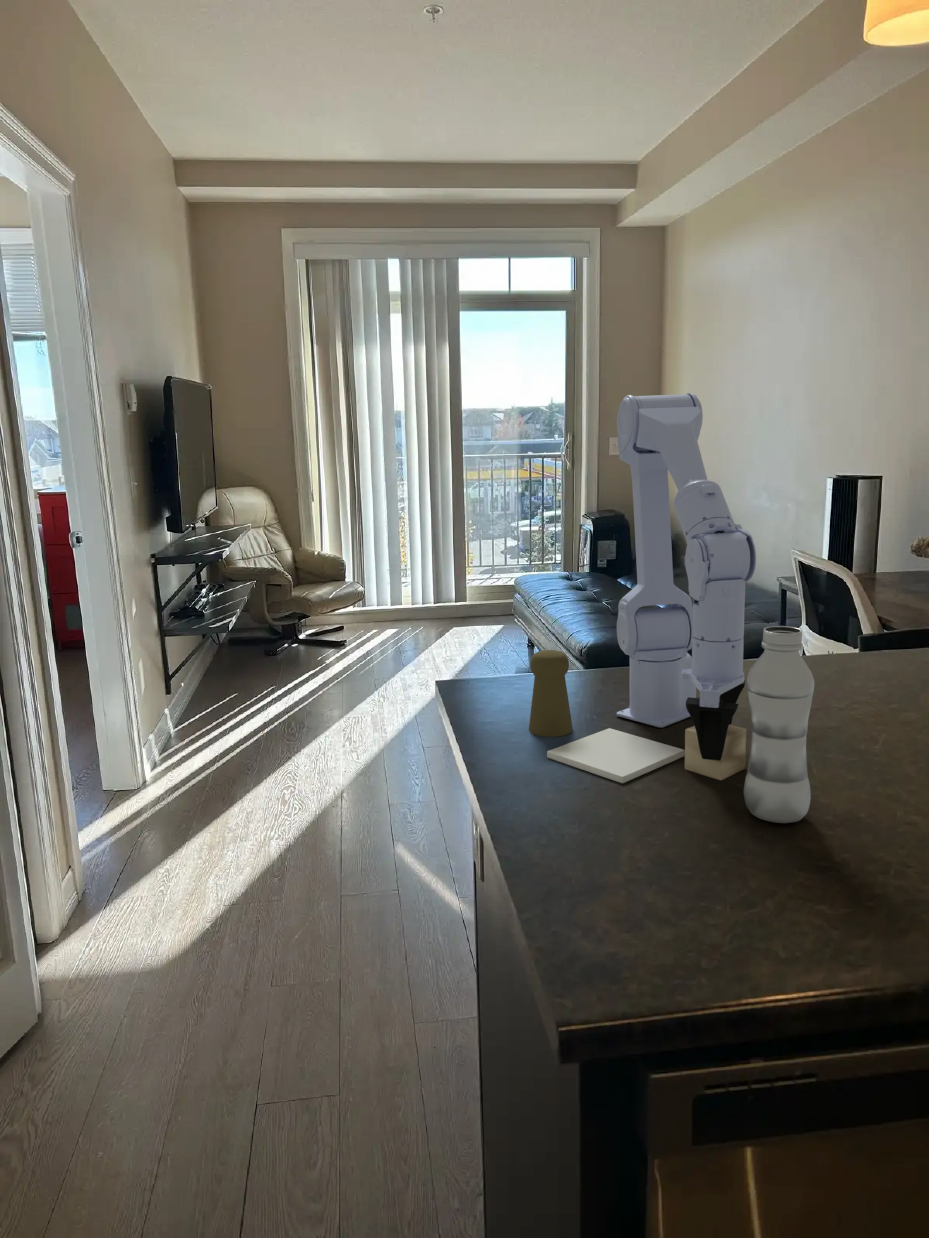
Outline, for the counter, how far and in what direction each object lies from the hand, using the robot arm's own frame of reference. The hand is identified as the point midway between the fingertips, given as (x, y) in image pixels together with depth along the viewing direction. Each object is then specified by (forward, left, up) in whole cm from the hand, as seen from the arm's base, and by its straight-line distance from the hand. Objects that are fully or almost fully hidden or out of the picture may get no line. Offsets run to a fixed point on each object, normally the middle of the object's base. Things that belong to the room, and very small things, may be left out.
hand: (715, 747), depth 105 cm
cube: (0, 0, -3) cm, 3 cm away
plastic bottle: (+7, +12, -3) cm, 14 cm away
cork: (+3, -24, -3) cm, 24 cm away
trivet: (+5, -11, -3) cm, 12 cm away
